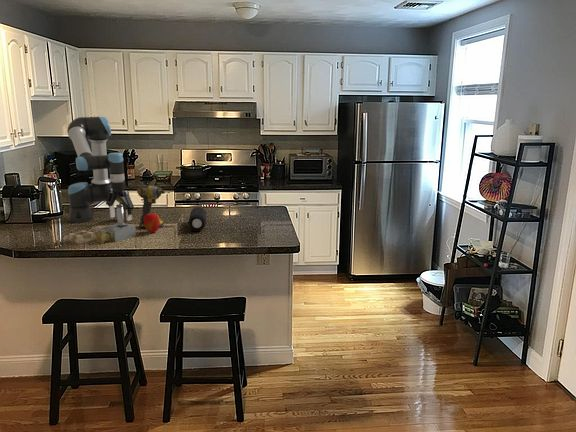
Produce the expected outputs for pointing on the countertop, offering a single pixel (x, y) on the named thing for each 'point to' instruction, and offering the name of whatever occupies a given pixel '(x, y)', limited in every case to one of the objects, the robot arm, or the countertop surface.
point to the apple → (151, 222)
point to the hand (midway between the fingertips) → (120, 218)
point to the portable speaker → (197, 219)
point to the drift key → (103, 237)
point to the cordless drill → (149, 200)
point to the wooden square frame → (81, 236)
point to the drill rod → (120, 215)
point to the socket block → (120, 231)
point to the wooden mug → (123, 208)
